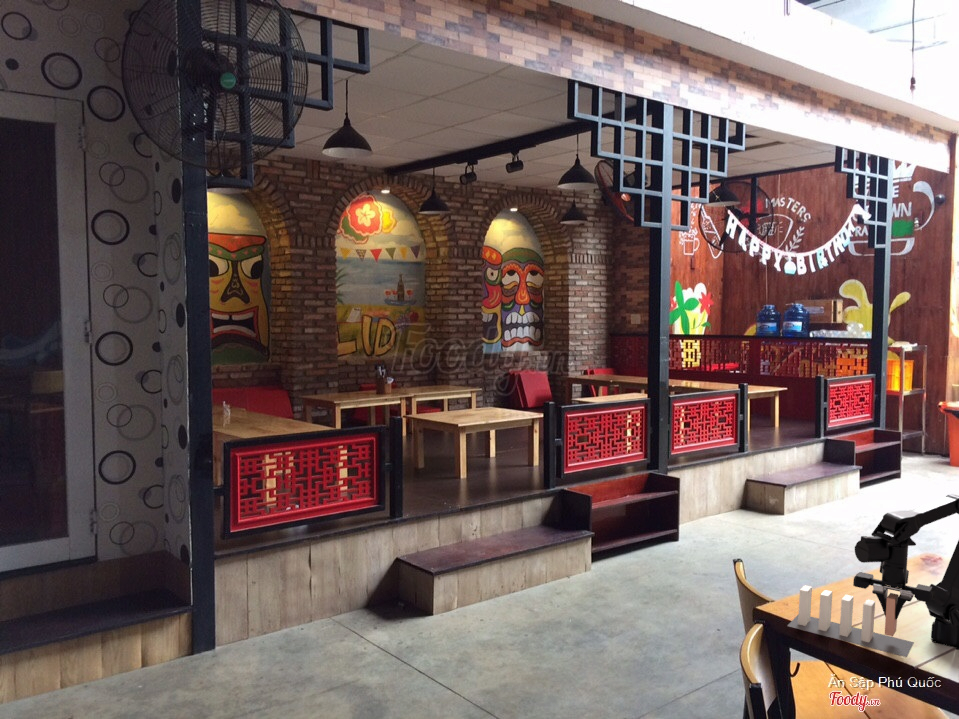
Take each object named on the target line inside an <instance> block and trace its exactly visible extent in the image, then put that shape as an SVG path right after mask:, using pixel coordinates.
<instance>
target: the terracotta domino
mask: <svg viewBox="0 0 959 719" xmlns="http://www.w3.org/2000/svg"><path fill="white" fill-rule="evenodd" d="M899 595H900V594H899V593H898V594H897V593H893V592H890V593H888V597H887V604H886V617H885V621H884V635H887V636H891V637H894V635H895V633H896V632H897V627H898V626H897V625H898V624H897V623H898V619H897V620H896V619H895V612H896V607H897V601H898V597H899Z"/></svg>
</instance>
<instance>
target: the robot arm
mask: <svg viewBox="0 0 959 719" xmlns="http://www.w3.org/2000/svg"><path fill="white" fill-rule="evenodd" d="M955 514H957V515H959V495H957V494H954V493H951V494H947V495H945V497H942V498H939V499H937V500H935V501H932V502H929V503H927V504H924V505H922V506H919V507H916V508H913V509H909V510H895V511H889V512H886V513H885V514H883V515H882V519H881V520H880V521H879V523H878V525H877V526H876V527H875V529H873V530H872V532H871V533H870V534H871V535H870V536H867V535H861V536H860V540H858V541H857V542H856V544H855V546H854V554H855V557H856V559H857V560H858V562H860V563H863V564H864V563H880V566H879V573H880V574H881V579H878V578H877V579H876V578H874V574H872V573H866V572H863V571H862V572H861V571H859V572H857V573H856V574H855V576H854V577H853V584H852V585H853V587H855V588H859V589H865V590H867V588H869V587H870V586H873V587H872V588H873V589H872V595H873V594H874V595H875V596H876V598H877V599H878V602H879V603H880V605H881V606H880V607H881V608H882V611H883V615H884V617H885V618H886V604H887V597H888V596H889V593H888V592H889V590H891V591H896V592H899V594H898V595H899V596H898V601H897V607H896V612H895V619H896V620H897V621H898V618H899V615H900V613H901V612H902V609H903V607H904V605H905V603H906V602H912V600H913V598H914V599H916V601H918V602H919V601H920V602H924V603H925V606H926V608H927V609H928V612H929V616H930V617H933V618H934V621H933V622H932V624H931V630H930V632H931V633H930V639H931V640H932V641H931V642H932V643H935V644H938V645H942V646H947V647H950V648H951V647H952V648H954V649H956V650H957V651H958V650H959V539H958V540H957V542H956V543H957V544H956V546H955V547H954V550H953V552H952V555H951V558H950V560H949V563H948V565H947V567H946V570H945V573H944V574H943V577H942V579H941V581H940V582H938V583H937V584H933V583H931V584H930V585H925V584H920V583H918V584H917V585H916V587H915V586H910V585H907V584H908V583H909V575H910V574H909V573H910V570H908V555H909V546H911V547H914V546H916V545H917V543H916V542H915V541H914V540H913V539H912V538H911V537H913V536H914V535H916V534H917V533H918V532H919V531H920V529H921V528H922V527H924V526H925V525H930V524H932V523H934V522H937V521H939V520H942V519H945V518H947V517H950V516H952V515H955Z"/></svg>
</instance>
